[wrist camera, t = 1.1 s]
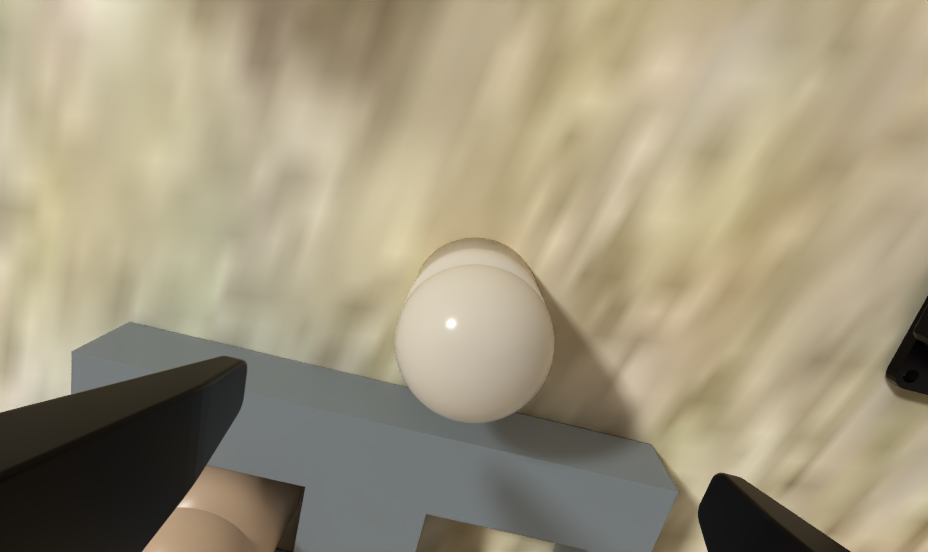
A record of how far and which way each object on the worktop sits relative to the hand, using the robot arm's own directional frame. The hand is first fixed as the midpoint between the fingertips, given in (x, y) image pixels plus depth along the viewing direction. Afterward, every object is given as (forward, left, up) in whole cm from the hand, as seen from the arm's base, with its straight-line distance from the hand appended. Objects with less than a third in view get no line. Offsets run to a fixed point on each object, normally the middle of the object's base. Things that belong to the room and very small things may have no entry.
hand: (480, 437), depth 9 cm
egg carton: (+2, +10, -8) cm, 13 cm away
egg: (0, 0, -8) cm, 8 cm away
